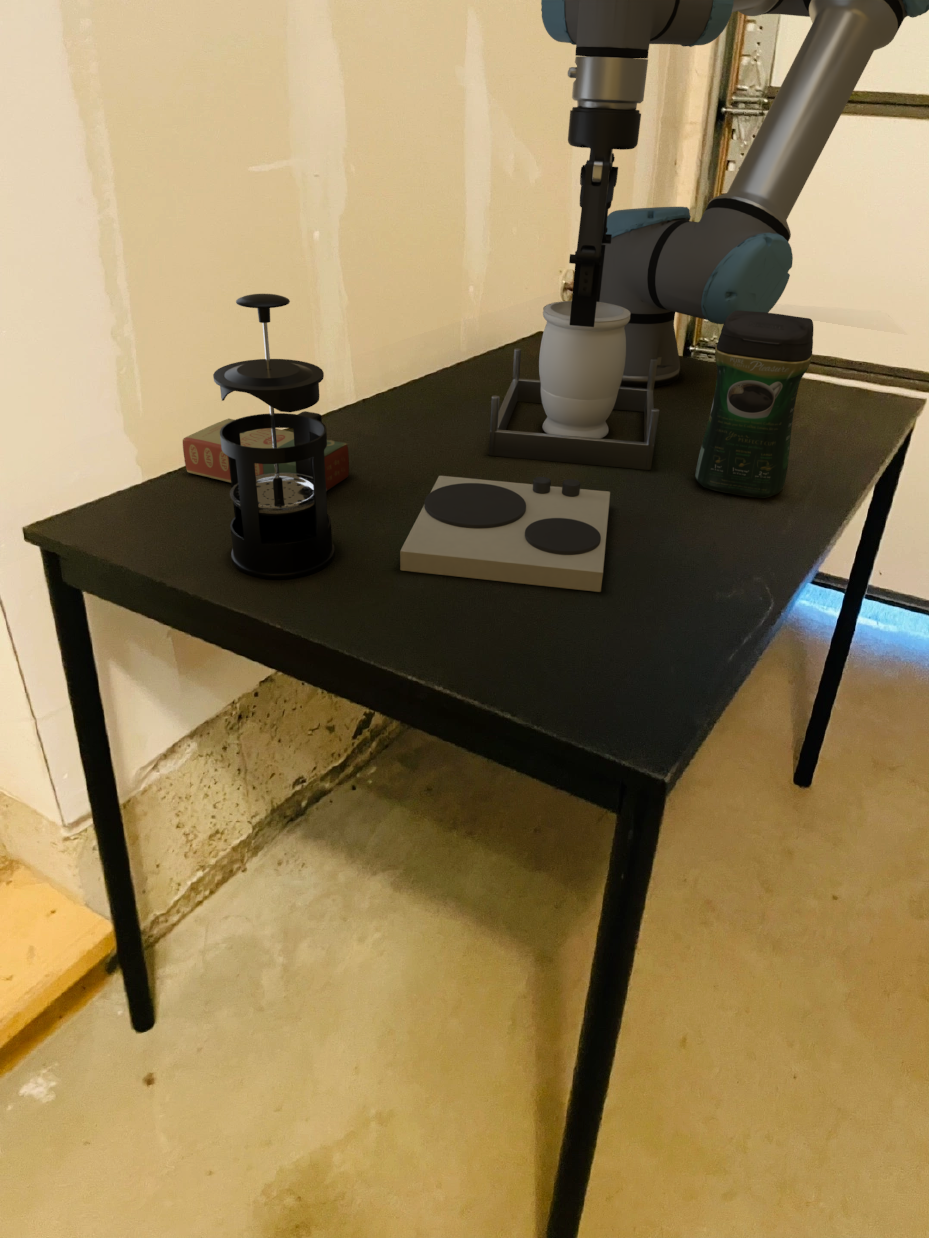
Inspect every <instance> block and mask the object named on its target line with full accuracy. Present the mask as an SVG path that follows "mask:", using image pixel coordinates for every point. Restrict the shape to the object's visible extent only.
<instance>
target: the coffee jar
mask: <svg viewBox="0 0 929 1238" xmlns="http://www.w3.org/2000/svg"><path fill="white" fill-rule="evenodd" d="M813 348H814V321H813V319H811V318H810V317H803V316H795V315H788V314H781V313H775V312H774V313H773V312H768V313H765V312H752V311H738V310H737V311H734V312H732V313H731V314H730V315H729V316H728V317H727V318H726V320H725V322H724V324H722V327H721V330H720V334H719V337H718V339H717V343H716V346H715V350H714V360H715V365H716V381H715V387H714V388H715V389H714V394H713V399H712V404H711V409H710V413H709V417H708V421H707V425H706V427H705V432H704V434H703V439H702V442H701V446H700V450H699V454H698V459H697V462H696V468H695V477H694V478H695V480H696V481H697V483H698V484H700V485H701V487H703V488H705V489H707V490H711V491H715V492H721V493H724V494H725V493H726V494H731V495H736V496H743V497H751V498H759V499H762V498H763V499H764V498H765V499H766V498H770V497H772V496H775V495H778V494H779V493H780V492H781V491H782V490H783V488H784V486H785V483H786V478H787V473H788V467H789V461H790V459H789V458H790V451H791V450H790V449H791V437H792V429H793V423H794V422H793V420H794V413H795V407H796V403H797V402H796V401H797V396H798V391H799V387H800V383H801V380H802V379H803V377H804V375H805V374H806V372H807V371H808V369H809V368H810V366H811V362H812V358H813Z"/></svg>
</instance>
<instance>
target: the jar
mask: <svg viewBox="0 0 929 1238" xmlns="http://www.w3.org/2000/svg"><path fill="white" fill-rule="evenodd" d="M571 304H572V300H562V301H555V302H551V303H547V304H546V305H544V307H543V310H542V316H543V318H544V320H545V321H546V324H545V326H544V330H543V333H542V336H541V341H540V347H539V358H538V372H539V373H538V374H539V380H540V382H541V399H542V403H541V405H542V407H543V410H544V413H545V415H546V418H545V420H544V421H543V422H542V425H541V426H542V431H544V434H555V435H567V436H578V437H590V438H601V439H604V438H605V437H606V436H608V434H609V429H610V428H609V426H608V423H607V420H608V418H609V417H610V415H611V414H612V412H613V410H614V409H613V407H614V405H615V402H616V398H617V394H618V390H619V387H620V384H621V381H622V377H623V372H624V367H625V359H626V336H625V330H624V326H625V325H626V324H627V323H628V322H629V320H630V314H631V313H630V311H629V310H627V309H625V308H623V307H620V306H617V305H613V304H608V303H603V302H597V303H596V313H595V322H594V327H585V326H572V325H570V314H571Z"/></svg>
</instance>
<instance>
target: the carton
mask: <svg viewBox="0 0 929 1238" xmlns="http://www.w3.org/2000/svg"><path fill="white" fill-rule="evenodd" d="M233 420H235V419H233V418H227V419H223V420H221V421H219V422H216V423H214V424H211V425H209V426H207V427H205V428H201V429H200V430H198V431H196V432H194V433H192V434H190V435H187V436H185V437H183V439H182V451H183V460H184V465H185V469H186V472H187V473H190V474H193V475H198V476H202V477H207V478H209V479H210V478H211V479H215V480H219V481H223V482H227V483H229V484H231V478H230V469H229V459H228V456H227V455H226V454H224V452H223V451H222V448H221V439H220V430H221V428H222V427H223V426H224V425H225V424H227V423H229V422H231V421H233ZM276 440H277V448H284V447H291V446H294V432H293V431H289V430H284V429H282V428H276ZM240 441H241V445H242V446H247V447H254V448H273V444H272V432H271V428H265V429H257V430H252V431H247V432H244V433H240ZM349 454H350V453H349V446H348V443H346V442H341V441H336V440H333V439H327V447H326V448H325V450H324V458H325V477H326V492H327V491H329V490H330V489H332V488H333V487H335V486H336V485H338V484H340V483H341V482H343V481H344V480H345V479H347V478H348V477H349V475H350V455H349ZM254 464H255V475H256V476H258V475H263V474H269V473H275V468H274V464H257V463H254ZM278 465H279V473H296V462H290V463H281V464H278Z"/></svg>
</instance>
